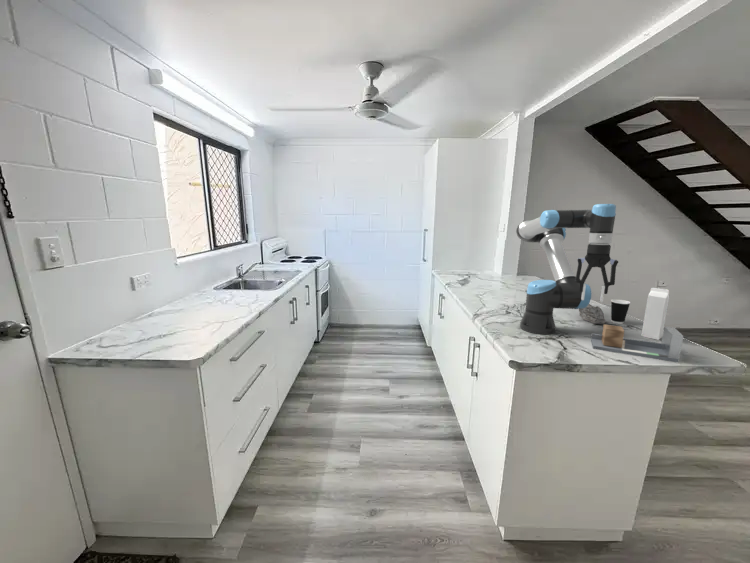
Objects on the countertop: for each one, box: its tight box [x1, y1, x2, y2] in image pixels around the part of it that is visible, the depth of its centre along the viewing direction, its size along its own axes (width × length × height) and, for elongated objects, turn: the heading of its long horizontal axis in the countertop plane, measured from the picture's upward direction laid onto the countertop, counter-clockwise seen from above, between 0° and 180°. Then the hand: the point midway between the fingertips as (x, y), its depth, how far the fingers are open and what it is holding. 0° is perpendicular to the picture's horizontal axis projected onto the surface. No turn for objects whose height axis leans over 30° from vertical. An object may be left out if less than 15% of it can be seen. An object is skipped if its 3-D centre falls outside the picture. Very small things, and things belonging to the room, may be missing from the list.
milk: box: [641, 287, 670, 341], centre depth 138 cm, size 6×6×22 cm
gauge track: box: [590, 333, 680, 363], centre depth 126 cm, size 26×10×3 cm, turn 61°
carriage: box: [601, 323, 625, 349], centre depth 128 cm, size 7×7×7 cm
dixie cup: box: [610, 298, 632, 325], centre depth 159 cm, size 8×8×11 cm
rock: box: [578, 303, 607, 325], centre depth 162 cm, size 16×8×10 cm, turn 175°
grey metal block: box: [660, 325, 684, 360], centre depth 120 cm, size 3×10×9 cm, turn 151°
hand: (591, 300), depth 130 cm, fingers open, 6 cm apart
